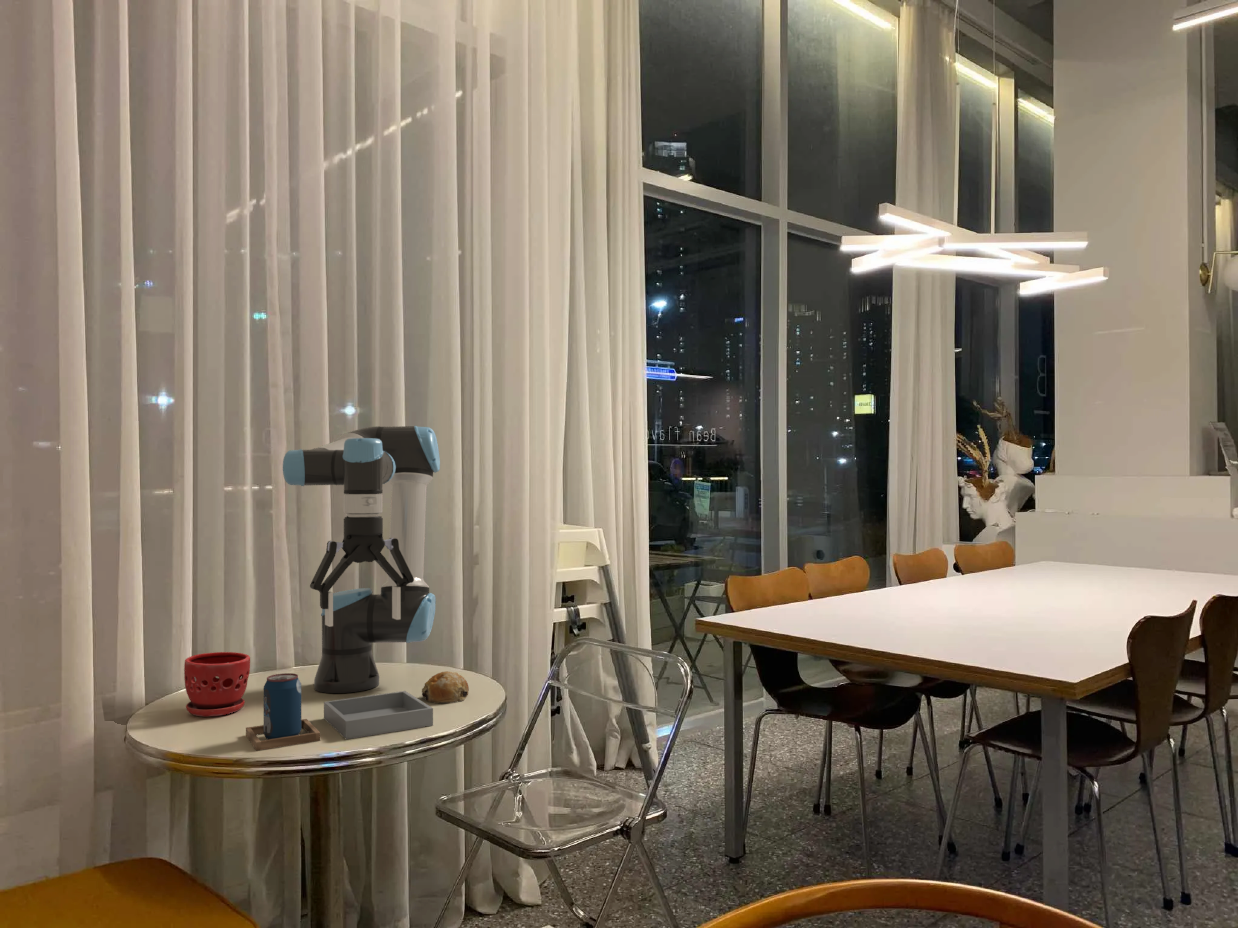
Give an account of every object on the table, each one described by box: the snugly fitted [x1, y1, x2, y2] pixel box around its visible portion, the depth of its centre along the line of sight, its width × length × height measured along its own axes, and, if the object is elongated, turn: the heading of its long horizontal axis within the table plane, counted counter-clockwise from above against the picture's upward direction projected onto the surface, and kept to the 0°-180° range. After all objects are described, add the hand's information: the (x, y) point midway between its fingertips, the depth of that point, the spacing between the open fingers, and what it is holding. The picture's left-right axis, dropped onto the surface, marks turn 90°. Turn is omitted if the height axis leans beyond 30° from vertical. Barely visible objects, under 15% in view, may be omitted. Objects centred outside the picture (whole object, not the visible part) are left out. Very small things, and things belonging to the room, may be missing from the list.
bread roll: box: [421, 671, 470, 704], centre depth 203 cm, size 10×10×8 cm
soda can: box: [263, 672, 302, 740], centre depth 173 cm, size 7×7×12 cm
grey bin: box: [323, 690, 434, 740], centre depth 184 cm, size 18×18×4 cm
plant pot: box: [183, 651, 251, 718], centre depth 192 cm, size 13×13×12 cm
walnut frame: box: [245, 718, 321, 751], centre depth 173 cm, size 12×12×2 cm
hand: (363, 622), depth 176 cm, fingers open, 13 cm apart
